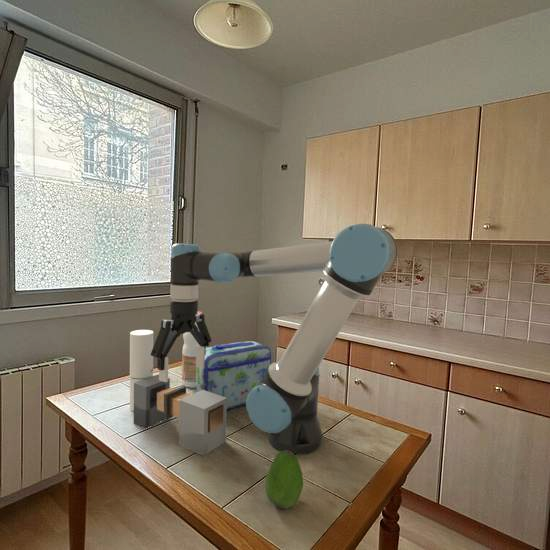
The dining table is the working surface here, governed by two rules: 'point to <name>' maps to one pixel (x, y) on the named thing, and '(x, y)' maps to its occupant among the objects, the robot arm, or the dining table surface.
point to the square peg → (171, 406)
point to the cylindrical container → (140, 359)
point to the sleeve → (201, 422)
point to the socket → (148, 401)
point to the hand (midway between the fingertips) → (182, 374)
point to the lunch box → (233, 370)
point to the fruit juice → (189, 359)
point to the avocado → (284, 480)
